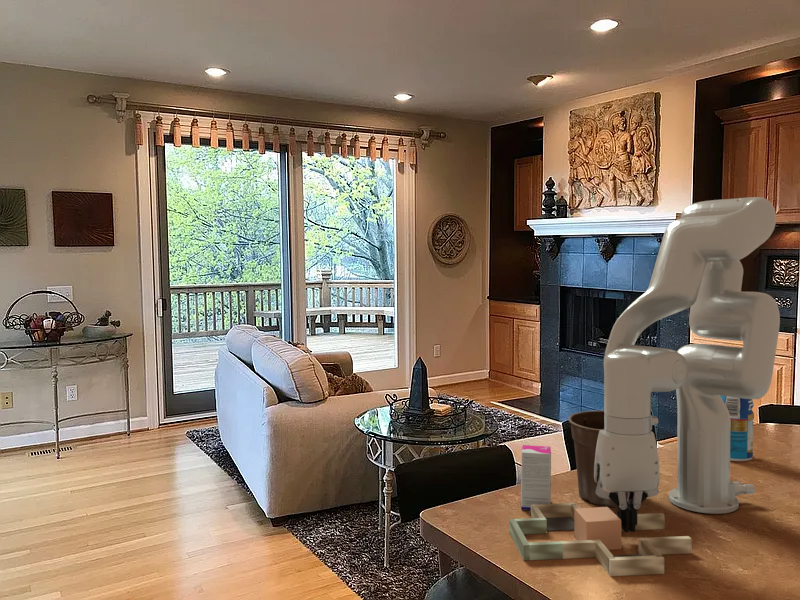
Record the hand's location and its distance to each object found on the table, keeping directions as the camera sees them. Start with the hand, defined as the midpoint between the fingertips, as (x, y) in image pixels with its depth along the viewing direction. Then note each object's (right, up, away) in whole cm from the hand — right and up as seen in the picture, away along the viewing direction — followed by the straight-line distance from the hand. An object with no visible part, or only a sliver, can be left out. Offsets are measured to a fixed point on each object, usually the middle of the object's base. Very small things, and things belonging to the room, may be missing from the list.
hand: (627, 529), depth 114 cm
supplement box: (-12, -2, +18) cm, 22 cm away
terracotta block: (-5, -2, 0) cm, 6 cm away
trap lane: (-5, -2, 0) cm, 5 cm away
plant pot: (+4, -1, +21) cm, 22 cm away
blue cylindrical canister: (+42, +1, +46) cm, 62 cm away
